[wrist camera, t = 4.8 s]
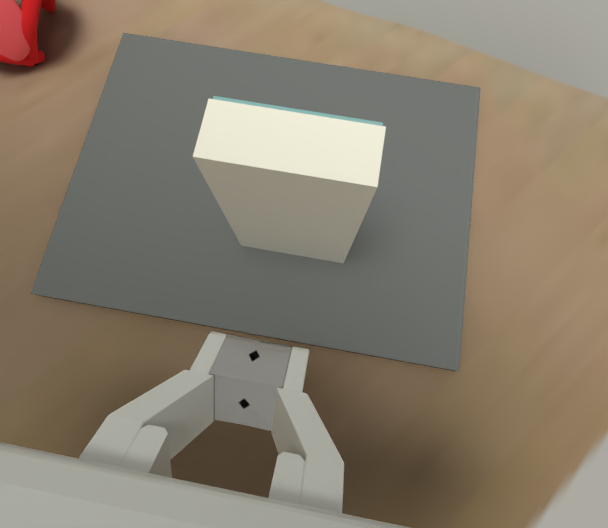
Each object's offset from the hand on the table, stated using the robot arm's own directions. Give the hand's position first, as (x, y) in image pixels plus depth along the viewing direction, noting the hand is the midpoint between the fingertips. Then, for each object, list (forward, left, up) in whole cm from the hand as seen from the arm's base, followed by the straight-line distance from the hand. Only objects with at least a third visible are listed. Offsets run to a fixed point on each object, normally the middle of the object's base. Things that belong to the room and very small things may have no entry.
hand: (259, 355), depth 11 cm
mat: (-2, +10, -10) cm, 14 cm away
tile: (0, +7, -9) cm, 12 cm away
